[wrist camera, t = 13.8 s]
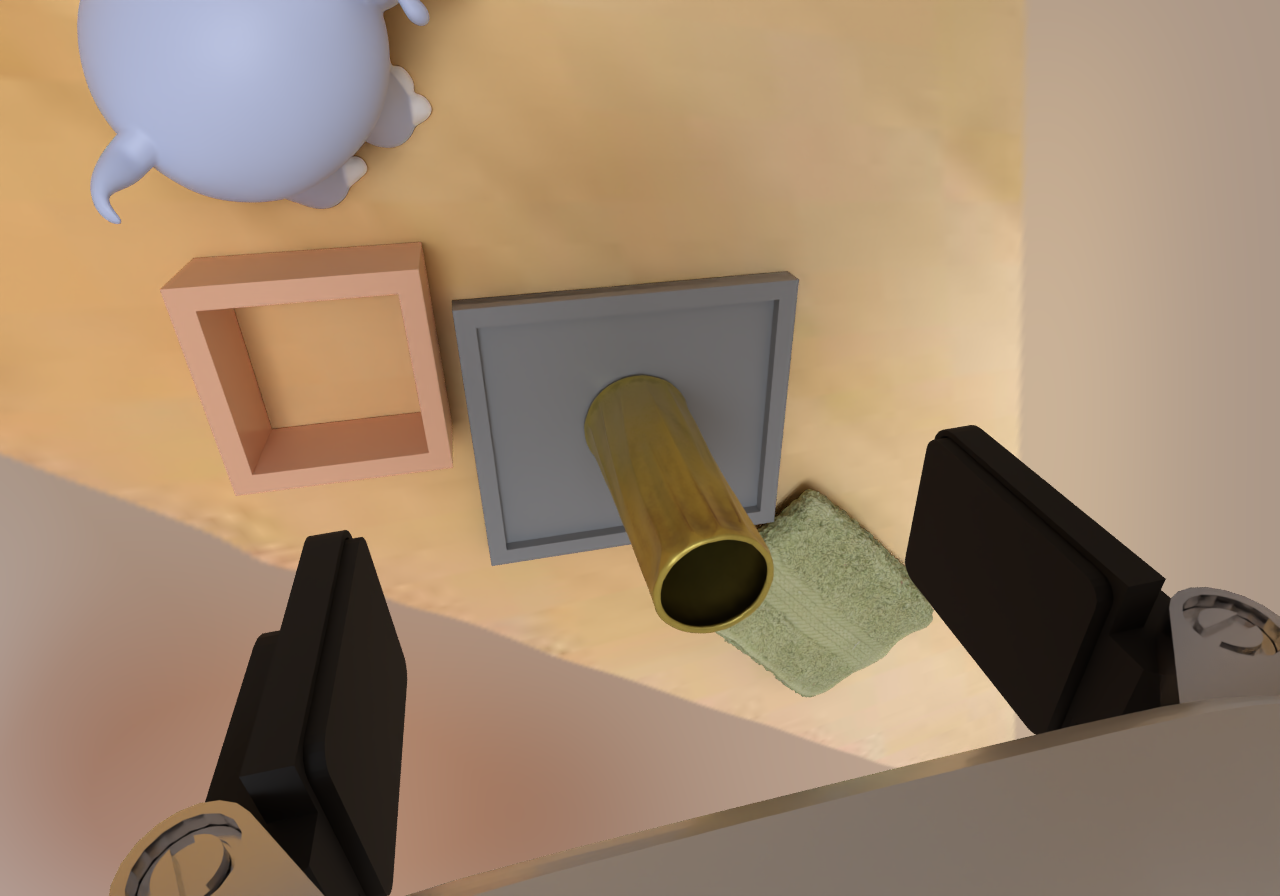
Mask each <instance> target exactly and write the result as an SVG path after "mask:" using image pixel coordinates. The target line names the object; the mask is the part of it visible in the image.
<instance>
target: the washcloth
mask: <svg viewBox="0 0 1280 896" xmlns="http://www.w3.org/2000/svg"><path fill="white" fill-rule="evenodd" d="M758 532H759V533H760V535H761V537H762V538H763V540H764V542H765V543H766V545H767V547H768V549H769V551H770V553H771V556H772V559H773V564H774V577H773V582H772V584H771V587H770V589H769V592H768V594H767V596H766V598H765V599H764V601H763V602H762V604H761V605H760V606H759V607H758V608H757V609H756V610H755V611H754V612H753V613H752V614H751V615H750V616H748V617H747V618H745V619H744V620H742V621H741V622H739V623H737V624H736V625H734V626H732V627H729V628H727V629H724V630H721V631H717V632H715V633H717V634H718V635H720V636H721V637H723V638H724V639H725V641H727V642H728V643H731V644H732V645H733V646H735V647H736V648H737V649H738V650H741V652H742V653H744V654H747V655H748V656H750V657H751V659H753V660H754V661H755V662H756V663H758V664H759V665H763V666H764V668H765V669H766V670H767V671H770V672H772V673H773V674H774V675H775V676H776V679H778V680H779V681H781V682H782V683H783V684H784V685H785V686H787V687H788V688H790V689H791V690H795V693H798V694H800V695H801V696H802V697H804V696H805V697H813V696H816V695H818V694H821V693H824V692H826V691H828V690H829V689H831V688H833V687H834V686H835V685H836V684H838V683H839V682H840V681H842V680H843V679H844V678H846V677H848V676H849V675H850V674H852V673H854V672H856V671H858V670H861V669H863V668H865V667H867V666H869V665H871V664H873V663H875V662H877V661H878V660H879V659H881V658H883V657H884V656H886V655H887V653H888V652H889V651H890V649H891V648H892V647H893V646H894V645H895V644H896V643H897V642H898V641H899V640H901V639H902V638H904V637H905V636H907V635H909V634H911V633H913V632H915V631H918V630H921V629H923V628H925V627H927V626H928V625H929V624H930V623H931V622H932V620H933V616H932V613H933V611H934V610H933V608H932V606H931V605H930V603H929V602H928V601H927V600H926V598H925V597H924V596H923V594H922V593H921V592H920V591H919V589H918V588H917V587H916V586H915V584H914V583H913V582H912V580H911V579H910V577H909V575H908V573H907V570H906V567H905V566H904V565H903V564H902V563H900V562H899V561H898V559H895V558H894V556H893V555H891V554H890V553H889V551H888V550H887V549H886V548H884V546H882V544H881V543H879V542H878V541H877V540H876V539H874V538H873V535H871V533H870V532H867V531H866V530H865V529H864V528H861V526H860V525H859V522H857V521H856V520H855V519H854V518H852V517H849V515H848V514H847V513H846V512H845V511H844V510H839V507H838V506H835V505H834V504H833V503H831V501H830V500H828V499H827V497H826V496H824V495H822V494H820V493H819V492H817V491H814V490H811V489H807V490H805V491H804V492H803V493H802V494H801V495H800V496H799V498H798V499H795V500H794V501H792V502H791V503H790V505H789V506H787V507H786V508H785V509H784V510H783V511H782V512H781V513H780V514H779V515H778V516H776V517H774V522H770V523H767V524H766V525H763V526H762V527H761V528H759V529H758Z"/></svg>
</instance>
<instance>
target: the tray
mask: <svg viewBox="0 0 1280 896" xmlns="http://www.w3.org/2000/svg"><path fill="white" fill-rule="evenodd" d="M798 283H799V279H797V278H796V277H795V276H793V275H792V274H790V273H789V272H788V271H786V272H775V273H763V274H752V275H740V276H729V277H717V278H706V279H694V280H683V281H671V282H660V283H648V284H637V285H625V286H614V287H602V288H591V289H579V290H568V291H556V292H545V293H533V294H522V295H510V296H499V297H488V298H476V299H465V300H453V301H452V312H453V318H454V325H455V331H456V338H457V344H458V351H459V357H460V364H461V370H462V377H463V383H464V390H465V396H466V403H467V409H468V416H469V422H470V429H471V435H472V442H473V448H474V454H475V461H476V467H477V474H478V480H479V487H480V493H481V500H482V506H483V513H484V519H485V526H486V532H487V539H488V545H489V552H490V558H491V565H492V566H495V565H502V564H508V563H514V562H521V561H527V560H533V559H540V558H546V557H553V556H559V555H565V554H572V553H578V552H585V551H591V550H597V549H604V548H610V547H617V546H623V545H629V544H631V542H630V540H629V537H628V535H627V533H626V530H625V528H624V526H623V523H622V521H621V518H620V516H619V513H618V510H617V508H616V505H615V503H614V500H613V498H612V495H611V493H610V490H609V488H608V486H607V484H606V482H605V480H604V477H603V475H602V473H601V470H600V467H599V465H598V463H597V460H596V458H595V457H594V455H593V454H592V453H591V451H590V449H589V447H588V445H587V442H586V438H585V432H584V424H585V420H586V416H587V413H588V410H589V408H590V406H591V404H592V402H593V401H594V399H595V398H596V397H597V396H598V395H599V394H600V393H601V392H602V391H603V390H604V389H605V388H606V387H608V386H609V385H611V384H612V383H614V382H616V381H618V380H620V379H623V378H626V377H631V376H638V375H647V376H652V377H656V378H660V379H663V380H665V381H667V382H669V383H671V384H672V385H673V386H674V387H676V388H677V389H678V390H679V391H680V392H681V394H682V395H683V397H684V398H685V400H686V403H687V407H688V409H689V411H690V413H691V415H692V417H693V419H694V420H695V422H696V424H697V426H698V428H699V430H700V432H701V434H702V436H703V438H704V440H705V442H706V444H707V447H708V449H709V451H710V453H711V455H712V457H713V458H714V460H715V462H716V463H717V465H718V467H719V469H720V471H721V472H722V474H723V476H724V478H725V479H726V481H727V483H728V484H729V486H730V487H731V489H732V491H733V492H734V494H735V495H736V497H737V498H738V500H739V502H740V503H741V505H742V507H743V508H744V510H745V511H746V513H747V515H748V516H749V518H750V519H751V521H752V522H753V524H754V525H757V524H763V523H770V522H774V516H775V506H776V496H777V487H778V477H779V467H780V458H781V448H782V438H783V429H784V419H785V409H786V399H787V390H788V380H789V370H790V361H791V351H792V341H793V332H794V322H795V312H796V302H797V293H798Z"/></svg>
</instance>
